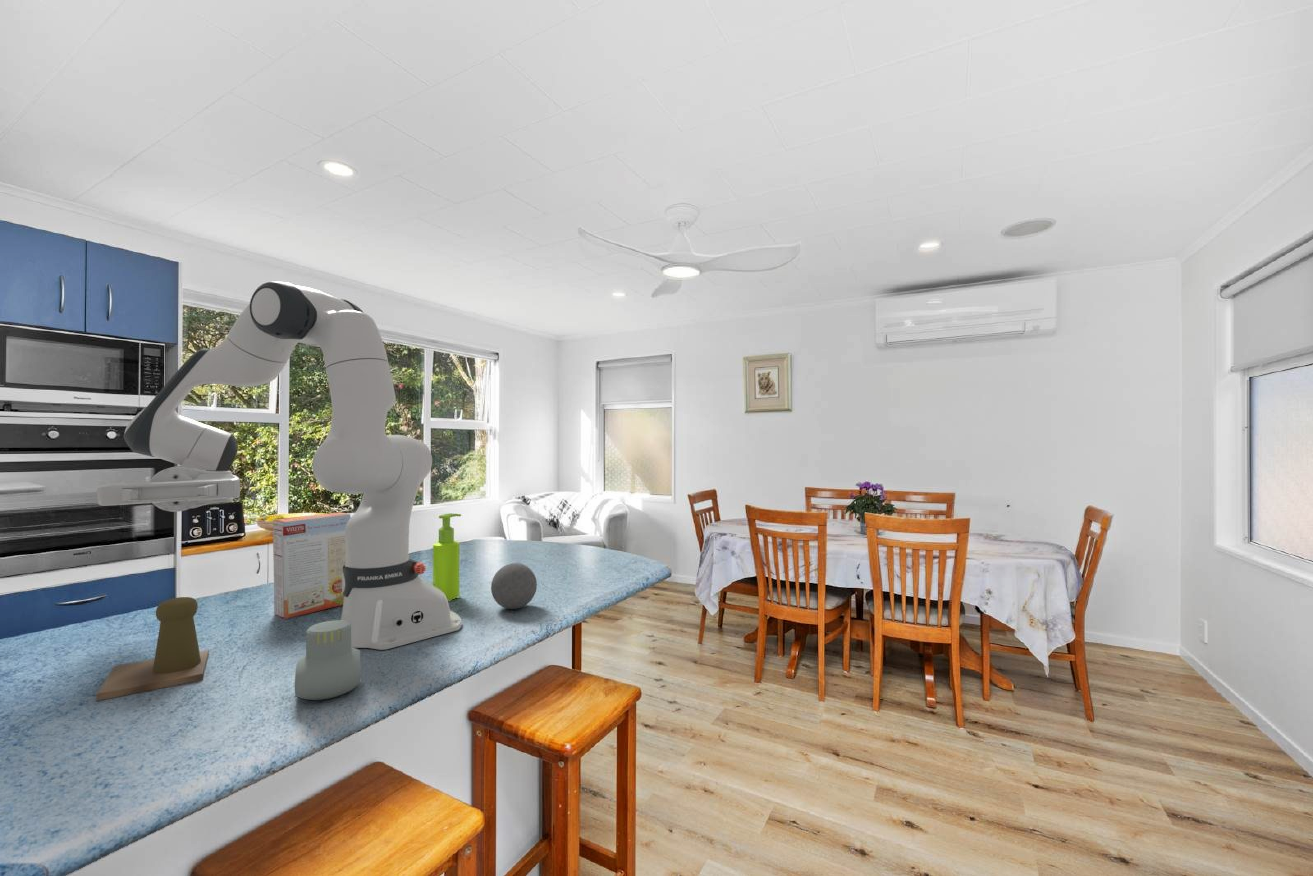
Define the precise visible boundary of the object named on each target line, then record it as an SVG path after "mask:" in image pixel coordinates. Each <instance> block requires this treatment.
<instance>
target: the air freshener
mask: <svg viewBox="0 0 1313 876" xmlns="http://www.w3.org/2000/svg"><path fill="white" fill-rule="evenodd" d="M305 634H306V635H305V637H306V638H305V642H306V643H305V645H306V647H305V655H304V656H302V657H300V658H299V659H298V660H296V665H295V673H294V695H295V696H296V697H298V698H301V699H304V700H308V701H309V700H310V701H323V700H329V699H333V698H337V697H340V696H343V695H345V694H346V693H349V692H350V691H352V690H353V689H355V688H356V687H357V686H359V685H360V684H361V675H362V674H361V650H360V649H358V648H354V647H351V624H350V623H349V622H348V621H343V620H341V619H339V620H337V619H335V620H328V621H323V622H318V623H315V624H313V625H311V626H309V628H308V629H306V633H305Z"/></svg>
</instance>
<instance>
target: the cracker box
mask: <svg viewBox="0 0 1313 876" xmlns="http://www.w3.org/2000/svg"><path fill="white" fill-rule="evenodd" d="M350 518H351V514H350V513H345V512H341V511H338V512H332V513H331V512H330V513H322V514H321V513H320V514H311V515H310V514H309V515H300V516H293V517H284V518H275V519H274V520H272V542H273V544H272V547H273V548H272V549H273V550H272V551H273V552H272V553H273V555H272V556H273V605H274V607H273V609H274V610H273V611H274V613H273V614H274V615H275V616H278V617H280V618H282V619H284V620H286V619H291V618H294V617H298V616H302V615H303V616H304V615H307V614H310V613H315V612H316V613H317V612H319V611H323V610H326V609H327V610H328V609H332V608H335V607H340V606H343V601H344V595H343V592H342V572H343V565H344V564H345V528H346V524H347V522H348V520H349V519H350Z"/></svg>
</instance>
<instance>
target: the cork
mask: <svg viewBox="0 0 1313 876" xmlns="http://www.w3.org/2000/svg"><path fill="white" fill-rule="evenodd" d="M198 608H199V606H198V602H197V600H196V599H195V598H193V597H191V596H189V597H188V596H186V597H184V596H181V597H174V598H170V599H166V600H163V601H162V602H160V603H159V604H158V605H157V607H156V609H155V617H156V619H157V620H158V621H159V623H160V624H159V630H158V636H157V641H156V642H157V643H156V648H155V654H154V658H153V659H154V665H153V671H152V672H154V673H157V674H166V673H173V672H178V671H182V670H186V669H189V668H192V667H194V666H196V665H198V664H199V663H200V662H201V658H200V652H199V651H200V648H199V643H198V642H199V641H198V636H197V631H196V624H195V618H194V617H195V615H196V614H197V612H198Z"/></svg>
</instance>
